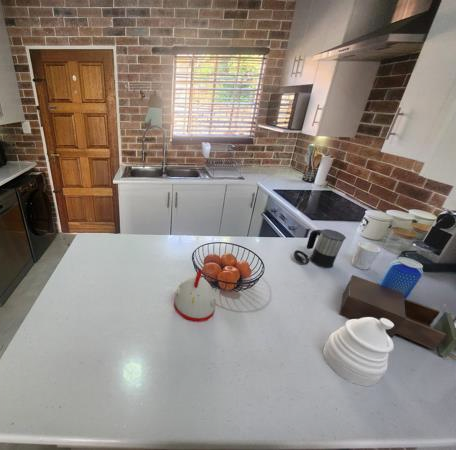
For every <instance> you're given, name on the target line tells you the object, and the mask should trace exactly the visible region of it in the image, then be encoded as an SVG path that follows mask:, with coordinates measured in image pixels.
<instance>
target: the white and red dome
mask: <svg viewBox="0 0 456 450" xmlns="http://www.w3.org/2000/svg"><path fill="white" fill-rule="evenodd" d="M202 273H203V269H198V270H197V273H196V275H194V276H191V277H188V278H187V279H186V280H184V281H181V282H180V283H179V285H178V287H177V290H176V292H175V297H174V304H173V305H174V309H175V311H176V313H177V314H178V315H179V316H180V317H181V318H183V319H185V320H187V321H190V322H194V323H202V322H206V321H208V320H210V319H211V318H212V317H214V313H215V310H216V291H215V290H213V288H212V286H211V284H210V283H209V282H208V280H206V279H205V278H204V277H202Z"/></svg>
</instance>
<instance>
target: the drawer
mask: <svg viewBox="0 0 456 450" xmlns="http://www.w3.org/2000/svg"><path fill="white" fill-rule="evenodd" d="M404 305H405V315H406V319H405V320H404V322H403V323H402V325H401V326H400V328H399V329H398V330H397V332H396V333H395V335H399V336H400V337H403V338H406V339H408V340H410V341H412V342H415V343H416V344H419V345H422V346H424V347H426V348H429V349H432V350H433V351H434V350H435V349H436V348H438V352H439V355H440V356H442V357H444V358H447V357H448V356H450V354H451V353H452V351H453V350H454V349H455V348H456V324H455V321H454V318H453V316H452V313H451V312H449V311H444V312H443V314H442V315H441V317H440V318H439V319H438V320H437V322H436V323H435V324H434V325H433V327H432V326H431V325H432V324H433V322H434V321H435V320H436V319H437V317H438V316H439V314H440V313H441V311H440V310H438V309H435V308H432V307H430V306H427V305H424V304H421V303H419V302H416V301H413V300H410V299H408V298H407V299H405V298H404Z"/></svg>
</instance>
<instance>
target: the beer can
mask: <svg viewBox="0 0 456 450" xmlns="http://www.w3.org/2000/svg"><path fill="white" fill-rule="evenodd" d="M423 268H424V265H423V264H422V263H420V262H419V261H417V260H416V259H412V258H409V257H405V256H399V257H398V258H397V259H394V260H392V261H391V262H390V264H389V266H388V268H387V269H386V271H385V273H384V275H383V276H382V278H381V280H380V282H379V283H378V284H380V285H382V286H385V287H388V288H391V289H394V290H397V291H399V292H402V293H403V296H404V298H405V299H408V297H409V296H410V295H411V293H412V291H413V290H414V288H415V287H416V286H417V284H418V282H419V281H420V280H421V278H422V276H423V275H424V270H423Z"/></svg>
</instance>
